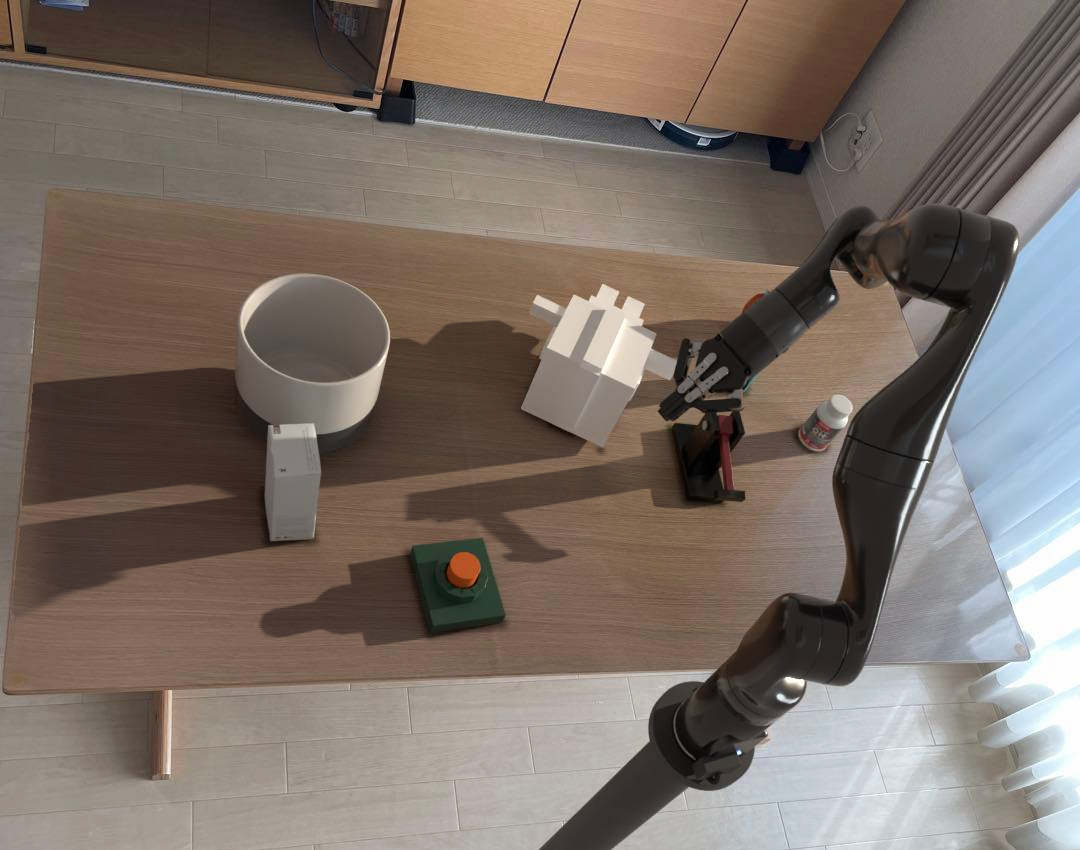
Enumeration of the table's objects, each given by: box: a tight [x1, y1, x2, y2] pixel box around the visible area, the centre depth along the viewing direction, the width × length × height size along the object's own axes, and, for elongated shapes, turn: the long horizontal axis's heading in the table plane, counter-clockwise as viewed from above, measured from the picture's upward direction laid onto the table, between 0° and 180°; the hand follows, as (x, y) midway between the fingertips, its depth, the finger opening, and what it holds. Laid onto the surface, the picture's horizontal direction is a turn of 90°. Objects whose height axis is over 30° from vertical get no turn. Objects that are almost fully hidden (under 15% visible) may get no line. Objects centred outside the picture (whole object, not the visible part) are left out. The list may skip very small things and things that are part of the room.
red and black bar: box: [714, 414, 747, 503], centre depth 149 cm, size 13×4×2 cm, turn 6°
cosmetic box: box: [264, 423, 322, 542], centre depth 128 cm, size 8×6×15 cm
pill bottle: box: [798, 394, 854, 452], centre depth 165 cm, size 5×5×10 cm
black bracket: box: [670, 411, 746, 504], centre depth 154 cm, size 14×6×12 cm, turn 5°
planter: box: [233, 273, 391, 454], centre depth 136 cm, size 19×19×18 cm
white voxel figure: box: [520, 283, 677, 448], centre depth 158 cm, size 15×25×28 cm
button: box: [446, 552, 480, 588], centre depth 131 cm, size 4×4×3 cm
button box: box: [409, 537, 507, 634], centre depth 133 cm, size 12×10×4 cm
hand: (662, 416), depth 136 cm, fingers closed
